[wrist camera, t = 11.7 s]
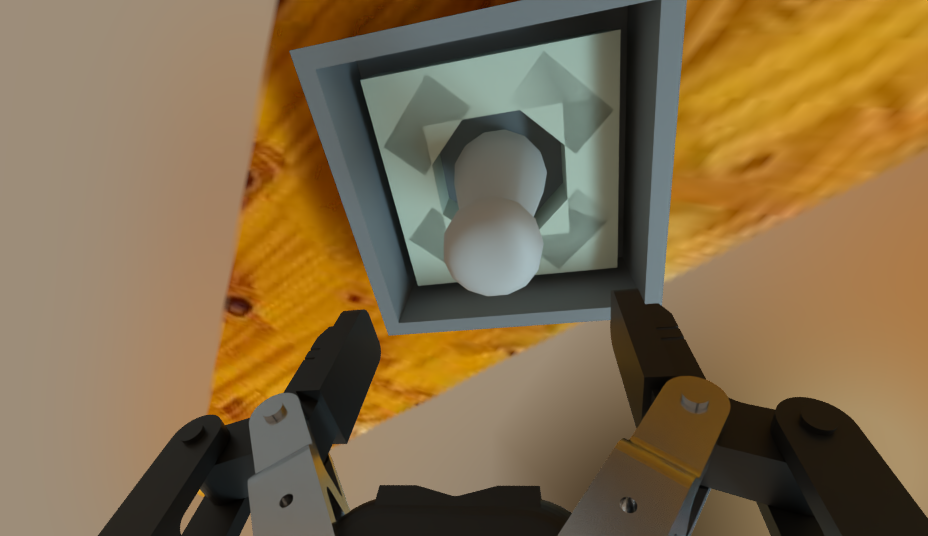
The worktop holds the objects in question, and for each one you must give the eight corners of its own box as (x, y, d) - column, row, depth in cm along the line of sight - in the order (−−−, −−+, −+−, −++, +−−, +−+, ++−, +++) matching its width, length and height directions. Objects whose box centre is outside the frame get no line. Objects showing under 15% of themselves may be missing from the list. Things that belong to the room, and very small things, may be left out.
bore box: (341, 44, 26) (288, 50, 20) (643, -21, 22) (689, -36, 16) (410, 281, 34) (388, 335, 29) (633, 260, 31) (660, 316, 25)
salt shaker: (513, 219, 29) (511, 339, 18) (444, 180, 28) (398, 281, 17) (561, 150, 27) (593, 243, 16) (486, 104, 26) (463, 168, 15)
